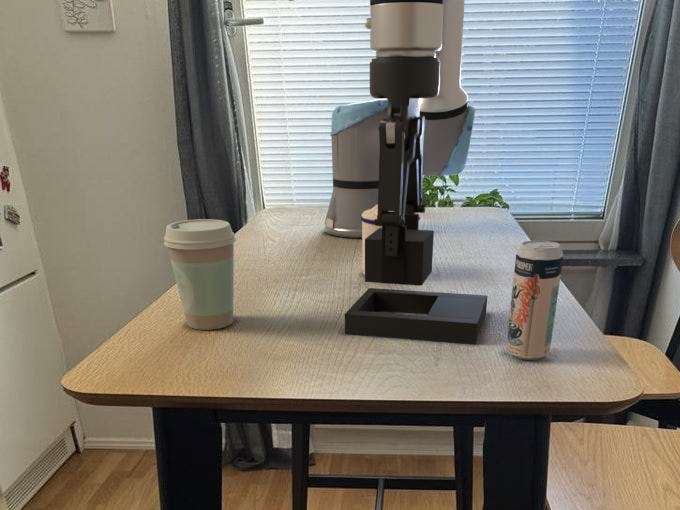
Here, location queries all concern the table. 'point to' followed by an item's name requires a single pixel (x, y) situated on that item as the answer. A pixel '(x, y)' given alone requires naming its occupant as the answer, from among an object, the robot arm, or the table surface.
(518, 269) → the beer can
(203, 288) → the coffee cup
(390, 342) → the table surface
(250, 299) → the table surface
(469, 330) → the black rectangular tray
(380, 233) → the matte black cube
